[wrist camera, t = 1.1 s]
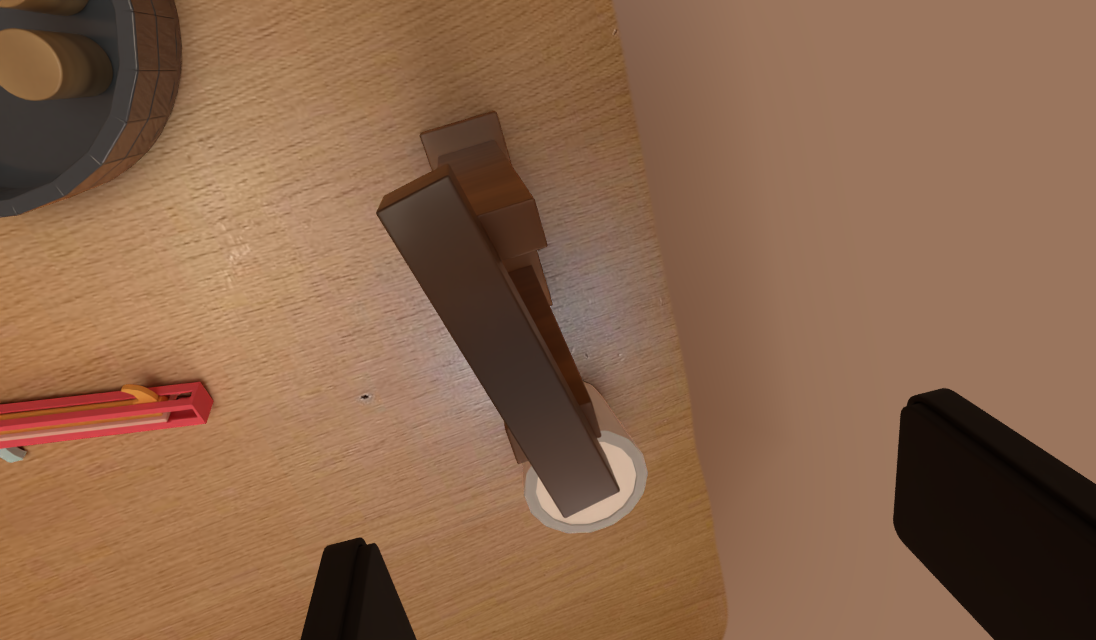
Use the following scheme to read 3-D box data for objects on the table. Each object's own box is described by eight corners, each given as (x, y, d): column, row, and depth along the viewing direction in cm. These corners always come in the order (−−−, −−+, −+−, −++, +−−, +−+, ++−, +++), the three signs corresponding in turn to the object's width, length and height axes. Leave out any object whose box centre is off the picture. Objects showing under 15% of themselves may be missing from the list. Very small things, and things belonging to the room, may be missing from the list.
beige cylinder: (557, 349, 37) (581, 408, 30) (636, 404, 39) (673, 470, 33) (488, 428, 38) (497, 500, 32) (568, 477, 41) (592, 553, 34)
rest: (420, 133, 31) (397, 191, 16) (494, 110, 31) (539, 148, 16) (485, 320, 35) (514, 497, 21) (550, 299, 35) (624, 461, 21)
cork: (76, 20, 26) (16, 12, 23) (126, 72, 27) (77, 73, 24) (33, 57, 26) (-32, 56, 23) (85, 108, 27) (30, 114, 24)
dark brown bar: (382, 196, 16) (374, 212, 14) (448, 161, 16) (448, 174, 14) (554, 480, 21) (564, 520, 19) (605, 454, 21) (621, 492, 19)
